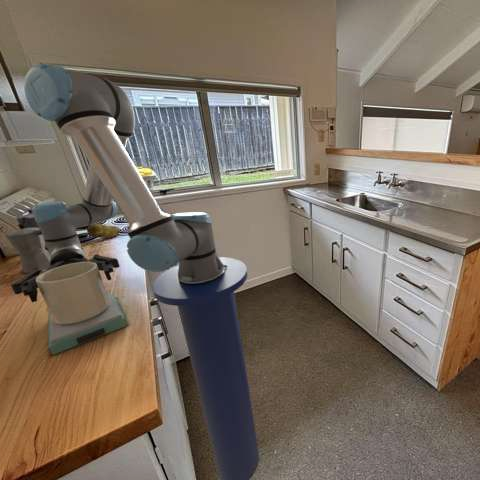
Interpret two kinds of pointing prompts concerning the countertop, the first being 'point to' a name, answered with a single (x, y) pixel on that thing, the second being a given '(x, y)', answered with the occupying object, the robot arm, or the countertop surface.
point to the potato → (103, 231)
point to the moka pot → (29, 221)
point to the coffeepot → (30, 248)
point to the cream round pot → (73, 292)
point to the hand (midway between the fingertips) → (72, 285)
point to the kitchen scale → (85, 327)
